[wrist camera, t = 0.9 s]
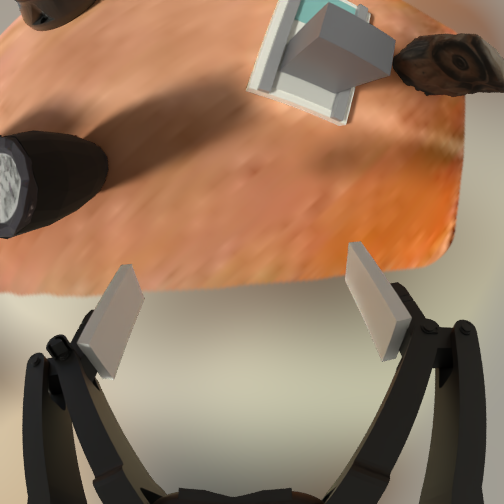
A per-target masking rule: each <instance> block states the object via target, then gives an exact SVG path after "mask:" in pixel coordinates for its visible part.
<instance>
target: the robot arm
mask: <svg viewBox="0 0 504 504" xmlns="http://www.w3.org/2000/svg"><path fill="white" fill-rule="evenodd" d="M15 1H16V2H17V3H18V5H19V8H20V11H21V14H22V17H23V20H24V21H25V23H26V24H27V25H28V26H30V27H31V28H33V29H35V30H38V31H46V30H51V29H54V28H57V27H60V26H62V25H64V24H66V23H68V22H69V21H71V20H73V19H74V18H76V17H77V16H79V15H80V14H81V13H83V12H84V11H85V10H86V9H88V8H89V7H90V6H91V5H92V4H93V3H94V2H95V1H96V0H15ZM345 281H346V284H347V286H348V288H349V290H350V292H351V294H352V296H353V298H354V300H355V302H356V304H357V306H358V309H359V311H360V313H361V315H362V317H363V319H364V322H365V324H366V326H367V328H368V330H369V333H370V335H371V337H372V340H373V342H374V344H375V346H376V349H377V351H378V353H379V356H380V358H381V361H382V362H383V361H387V360H391V359H395V358H396V357H397V354H398V352H399V351H400V353H401V355H402V358H401V360H400V362H399V365H398V367H397V369H396V373H395V375H394V377H393V380H392V382H391V384H390V387H389V389H388V391H387V393H386V395H385V397H384V400H383V402H382V404H381V406H380V408H379V410H378V412H377V414H376V416H375V418H374V420H373V422H372V424H371V426H370V427H369V429H368V431H367V433H366V434H365V437H364V438H363V440H362V441H361V443H360V445H359V447H358V448H357V450H356V452H355V453H354V455H353V456H352V458H351V460H350V461H349V463H348V464H347V466H346V467H345V469H344V470H343V472H342V473H341V475H340V476H339V478H338V479H337V480H336V482H335V483H334V484H333V486H332V487H331V488H330V489H329V491H328V492H327V493H326V495H325V496H324V498H323V499H322V500H320V499H318V498H316V497H314V496H312V495H309V494H306V493H301V492H294V491H292V489H291V488H286V489H275V490H262V491H259V492H255V493H251V494H247V495H243V496H238V497H229V496H225V495H221V494H217V493H213V492H210V491H206V490H196V489H184V488H179V492H175V493H171V494H168V495H167V494H166V493H165V491H164V490H163V489H162V488H161V487H160V486H159V485H157V484H156V483H155V481H154V480H153V479H152V478H151V476H150V475H149V473H148V472H147V470H146V469H145V467H144V466H143V464H142V463H141V462H140V460H139V458H138V457H137V455H136V453H135V452H134V450H133V448H132V447H131V445H130V443H129V442H128V440H127V438H126V437H125V435H124V433H123V431H122V429H121V427H120V426H119V424H118V422H117V420H116V418H115V416H114V414H113V412H112V410H111V408H110V406H109V404H108V402H107V400H106V398H105V396H104V393H103V391H102V389H101V387H100V384H99V382H98V380H97V379H96V378H95V376H96V374H97V372H98V373H99V375H100V376H101V377H102V378H103V379H111V380H114V379H115V376H116V373H117V370H118V367H119V364H120V361H121V358H122V356H123V353H124V350H125V347H126V345H127V342H128V339H129V337H130V334H131V332H132V329H133V326H134V324H135V321H136V319H137V316H138V314H139V311H140V309H141V306H142V304H143V302H144V299H145V298H144V296H143V293H142V291H141V288H140V285H139V283H138V280H137V278H136V275H135V272H134V269H133V267H132V264H126V265H121V266H120V268H119V269H118V271H117V273H116V274H115V276H114V277H113V279H112V281H111V282H110V284H109V286H108V287H107V289H106V291H105V292H104V294H103V296H102V297H101V299H100V301H99V303H98V305H97V306H96V308H95V310H91V311H90V312H89V313H88V314H87V315H86V316H85V317H84V319H83V321H82V324H81V325H80V326H79V329H78V330H77V332H76V334H75V336H74V338H73V339H72V341H71V343H69V341H68V340H67V338H66V337H65V336H64V335H56V336H54V337H53V338H52V339H50V341H49V342H48V344H47V347H46V349H47V351H48V352H49V354H50V355H51V356H52V358H48V359H46V358H45V356H44V355H43V354H42V353H36V354H34V355H32V356H31V357H30V359H29V360H28V363H27V369H26V376H25V386H24V398H23V425H22V426H23V428H22V429H23V430H22V431H23V432H22V434H23V457H24V470H25V479H26V486H27V493H28V503H27V504H87V500H86V497H85V493H84V489H83V485H82V481H81V476H80V472H79V467H78V462H77V456H76V450H75V444H74V437H73V429H72V423H73V426H74V429H75V431H76V434H77V437H78V439H79V441H80V444H81V446H82V449H83V451H84V454H85V456H86V458H87V460H88V462H89V465H90V467H91V469H92V471H93V473H94V475H95V479H94V480H93V486H94V488H95V490H96V492H97V494H98V496H99V498H100V499H101V501H102V503H103V504H377V502H378V501H379V499H380V498H381V496H382V494H383V492H384V491H385V489H386V487H387V485H388V483H389V480H390V473H391V471H392V469H393V467H394V465H395V463H396V461H397V459H398V457H399V455H400V453H401V451H402V449H403V447H404V445H405V442H406V440H407V438H408V435H409V433H410V431H411V428H412V426H413V423H414V421H415V418H416V416H417V413H418V410H419V408H420V405H421V402H422V399H423V396H424V393H425V390H426V387H427V384H428V381H429V378H430V374H431V370H432V368H435V404H434V418H433V429H432V437H431V444H430V451H429V457H428V463H427V469H426V474H425V479H424V483H423V487H422V492H421V496H420V501H419V504H484V501H483V493H482V482H483V474H484V464H485V452H486V398H485V385H484V375H483V367H482V361H481V354H480V347H479V342H478V336H477V331H476V328H475V326H474V325H473V324H472V323H470V322H469V321H466V320H459V321H457V322H456V323H455V325H454V327H453V328H444V327H439V325H438V324H437V323H436V322H435V321H433V320H431V319H426V318H425V316H424V315H423V313H422V312H421V310H420V309H419V308H418V306H417V304H416V303H415V301H413V298H412V297H411V296H410V294H409V292H408V291H407V290H406V288H405V287H404V286H402V285H401V284H399V283H398V282H397V283H389V281H388V280H387V278H386V277H385V276H384V274H383V272H382V271H381V269H380V268H379V267H378V265H377V264H376V262H375V261H374V259H373V258H372V257H371V255H370V254H369V252H368V251H367V250H366V248H365V247H364V246H363V244H362V243H361V241H360V242H350V243H349V246H348V257H347V267H346V276H345Z"/></svg>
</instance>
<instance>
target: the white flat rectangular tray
mask: <svg viewBox="0 0 504 504" xmlns="http://www.w3.org/2000/svg"><path fill="white" fill-rule="evenodd" d="M328 2H330V3H332V4H334V5H337V6H339V7H341V8H342V9H344V10H346V11H348V12H350V13H352V14H354V15H356V16H357V17H359V18H361V19H363V20H364V21H366V22H368V23H369V20H370V15H371V14H370V13H368V8H367V7H365V6H363V5H361V4H359V5H358V6H356V5H354V4H352V3H351V2H349V1H347V0H278V2H277V5H276V7H275V10H274V12H273V15H272V18H271V20H270V23H269V25H268V28H267V31H266V33H265V36H264V39H263V42H262V44H261V47H260V50H259V53H258V56H257V58H256V61H255V64H254V67H253V70H252V73H251V76H250V79H249V82H248V85H247V88H246V91H247V92H250V93H254V94H257V95H260V96H263V97H266V98H269V99H272V100H275V101H278V102H281V103H284V104H286V105H289V106H292V107H295V108H297V109H300V110H302V111H305V112H307V113H310V114H312V115H315V116H317V117H320V118H322V119H324V120H327V121H329V122H331V123H334V124H336V125H338V126H342V125H346V123H347V119H348V115H349V111H350V107H351V103H352V99H353V95H354V91H355V87H356V86H355V87H352V88H350V89H347V90H344V91H341V92H338V93H336V94H334V93H332V92H330V91H327V90H325V89H323V88H321V87H318V86H316V85H314V84H311V83H309V82H307V81H304V80H302V79H299V78H297V77H294V76H291V75H289V74H286V73H283V72H281V71H280V68H281V64H282V61H283V58H284V55H285V52H286V49H287V46H288V43H289V41H290V40H291V39H292V38H293V37H294V36H295V35H296V34H297V32H298V31H299V30H300V29H301V28H302V27H303V26H304V25H305V24H306V23H307V22H308V21H309V20H310V19H311V18H312V17H313V16H314V15H315V14H316V13H317V12H318V11H319V10H321V9H322V8H323V7H324V6H325V5H326V4H327V3H328Z"/></svg>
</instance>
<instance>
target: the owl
mask: <svg viewBox="0 0 504 504" xmlns="http://www.w3.org/2000/svg"><path fill="white" fill-rule="evenodd" d="M392 65H393V69H394V70H395V71H396V72H397V74H398V76H399V77H400V78H401V79H402V80H403V82H404V83H405V84H406V85H407V86H414V87H415V89H416V90H417V91H422V92H424V93H425V95H426V96H428V95H448V96H451V97H456V96H462V95H466V94H473V93H477V92H483V93H484V92H487V93H491V92H500V93H504V59H503V58H502V57H501V56H500V55H499V53H498V52H497V50H496V49H495V48H494V47H492V46H491V45H490V44H489V43H487V42H486V41H484V40H483V39H482V38H481V37H480V36H478V35H476V34H456V35H452V34H438V35H428V36H419V37H418V38H415V39H414V40H413V41H412V42H411V43H410V44H408V45H407V47H406V48H404V49H402V50H401V52H400V53H399V54H398V55H396V56H395V57H394V58H393V62H392Z"/></svg>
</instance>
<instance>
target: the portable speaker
mask: <svg viewBox="0 0 504 504" xmlns="http://www.w3.org/2000/svg"><path fill="white" fill-rule="evenodd" d="M1 136H2V135H0V238H4V239H8V238H11V237H14V236H17V235H20V234H23V233H26V232H29V231H32V230H36V229H39V228H42V227H45V226H48V225H51V224H53V223H55V222H56V221H58V220H60V219H62V218H64V217H65V216H67V215H69V214H71V213H73V212H75V211H77V210H78V209H79V208H81V207H82V206H83V205H84V204H85V203H87V202H88V201H89V200H90V199H92V198H93V197H94V196H95V195H96V194H97V193H98V192H99V191H100V190H101V188H102V186H103V184H104V182H105V179H106V176H107V173H108V160H107V156H106V155H105V153H104V152H103V150H102V149H101V148H100V147H99V146H97V145H96V144H95V143H92V142H90V141H87V140H84V139H82V138H79V137H76V135H75V136H74V135H70V134H62V133H53V132H43V131H28V132H23V133H18V134H13V135H8V136H4V137H1Z"/></svg>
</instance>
